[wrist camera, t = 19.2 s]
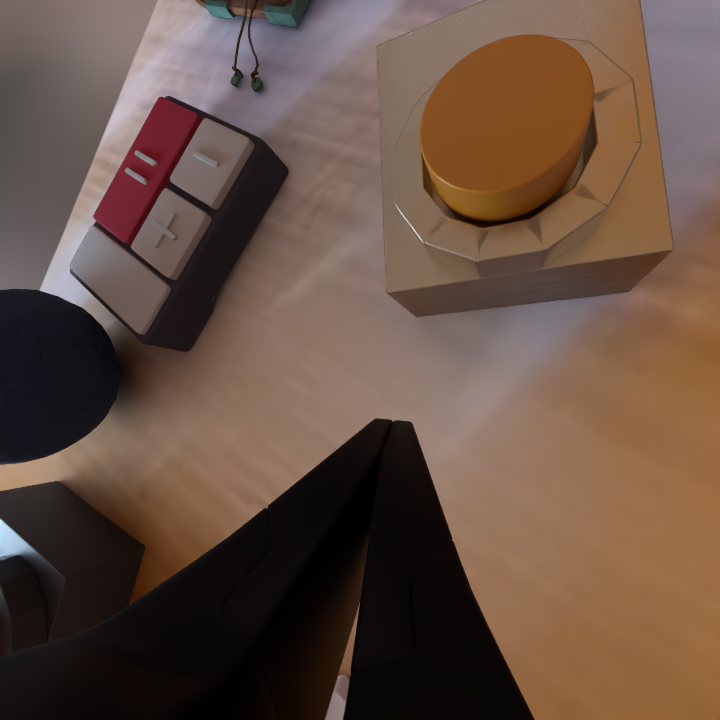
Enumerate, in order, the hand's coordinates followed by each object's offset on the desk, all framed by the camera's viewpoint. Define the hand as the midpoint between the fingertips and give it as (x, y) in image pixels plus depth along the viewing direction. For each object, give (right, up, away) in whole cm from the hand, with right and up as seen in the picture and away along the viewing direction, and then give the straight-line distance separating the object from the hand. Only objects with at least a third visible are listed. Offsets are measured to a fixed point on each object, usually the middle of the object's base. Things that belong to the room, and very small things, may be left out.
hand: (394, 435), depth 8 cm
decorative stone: (-22, 0, +22) cm, 31 cm away
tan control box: (+7, +10, +11) cm, 17 cm away
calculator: (-13, +11, +20) cm, 27 cm away
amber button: (+4, +9, +5) cm, 11 cm away
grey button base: (-23, -15, +21) cm, 35 cm away
